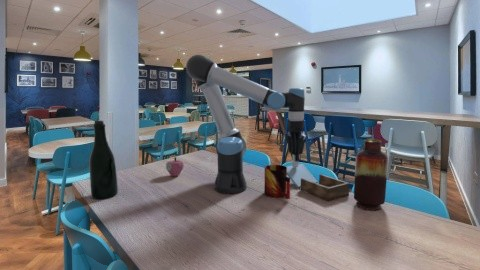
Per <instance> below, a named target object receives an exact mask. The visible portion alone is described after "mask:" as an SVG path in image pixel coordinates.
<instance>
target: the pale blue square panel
mask: <svg viewBox="0 0 480 270" xmlns="http://www.w3.org/2000/svg"><path fill="white" fill-rule="evenodd" d="M286 167H287V177H289V178H290V181H291V182H292V183H293V184H294V186H295V187H296V188H297V189H301V178H303V179H306V180H309V181H312V182H315V183H317V184H319V180H317V179H316V178H315V177H314V175H313V174H312V173H311V171H309V170H308V168H307V167H306V166H305V165H304V164H303V163H298V167H295V168H294V167H292V165H287V166H286Z"/></svg>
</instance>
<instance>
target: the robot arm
mask: <svg viewBox="0 0 480 270" xmlns="http://www.w3.org/2000/svg"><path fill="white" fill-rule="evenodd" d="M185 64H186V65H185V68H186V69H185V70H186V73H187V74H188V76H189V77H190V78H191V79H192V80H194V81H195V84H196V86H197V88H198V90H201V91H202V94H203V96H204V98H205V100H206V104H207V105H208V109H209V110H210V114H211V116H212V118H213V120H214V124H215V126H216V128H217V131H218V134H219V136H218V141H217V143H216V144H217V145H216V149H217V174H216V177H215V181H214V187H213V188H214V190H215V192H219V193H221V194H222V193H223V194H237V193H242V192H244V191H246V190H247V181H246V178H245V175H244V167H243V166H244V163H243V162H244V160H243V158H244V157H243V156H244V155H245V154H246V153H247V152H246V151H247V142H246V140H245V139H244V138H243V136H242V133H241V131H240V129H237V128H236V127H235V124H234V121H233V119H232V116H231V113H230V111H229V108H228V106H227V103H226V101H225V100H226V99H225V98H224V95H223V93H222V90H221V88H223V89H225V90H229V91H230V92H233V93H235V94H238V95H241V96H242V97H245V98H247V99H249V100H252V101H253V102H257V103H259V104H261V105H263V106H264V108H266V109H271V110H274V111H278V110H279V111H280V110H281V109H288V116H287V117H288V118H287V119H288V122H287V123H288V124H287V125H288V126H287V127H288V129H289V130H288V132H286V133H285V137H286V140H287V148H288V153H290V154H291V160H292V164H291V166H292V167H294V168H295V167H298V164H299V161H300V155H302V154H303V153H304V149H305V143H306V139H308V138H307V137H308V135H306V134H304V131H303V129H304V128H305V127H304V126H305V121H304V119H305V89H304V88H303V87H300V88H299V87H298V88H297V87H296V88H294V87H292V88H289V89H288V92H287V91H286V92H279V91H276V90H273V89H271V88H269V87H266V86H264V85H262V84H259V83H257V82H255V81H252V80H250V79H249V78H245V77H243V76H240V75H238V74H236V73H233V72H231V71H228V70H226V69H224V68H222V67H219V66H218V65H217V63H216V62H214V61H213V60H212V59H210V58H208V57H206V56H204V55H203V54H195V55H192V56H191V57H189V58H188V60H187V62H186V63H185Z"/></svg>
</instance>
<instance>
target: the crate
mask: <svg viewBox="0 0 480 270" xmlns="http://www.w3.org/2000/svg"><path fill="white" fill-rule="evenodd" d="M300 191H302V192H304V193H306V192H307V193H306V194H309V195H312V196H314V197H316V198H318V199H321V200H323V201H326V202H331V201H335V200H337V199H341V197H342V198H344V197H347V196H349V195H350V183H349V182H347V181H343V180H341V179H337V178H334V177H331V176H328V175H324V174H322V173H321V174H320V173H319V176H318V183H315V182H312V181H309V180H306V179H303V178H301V187H300Z"/></svg>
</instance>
